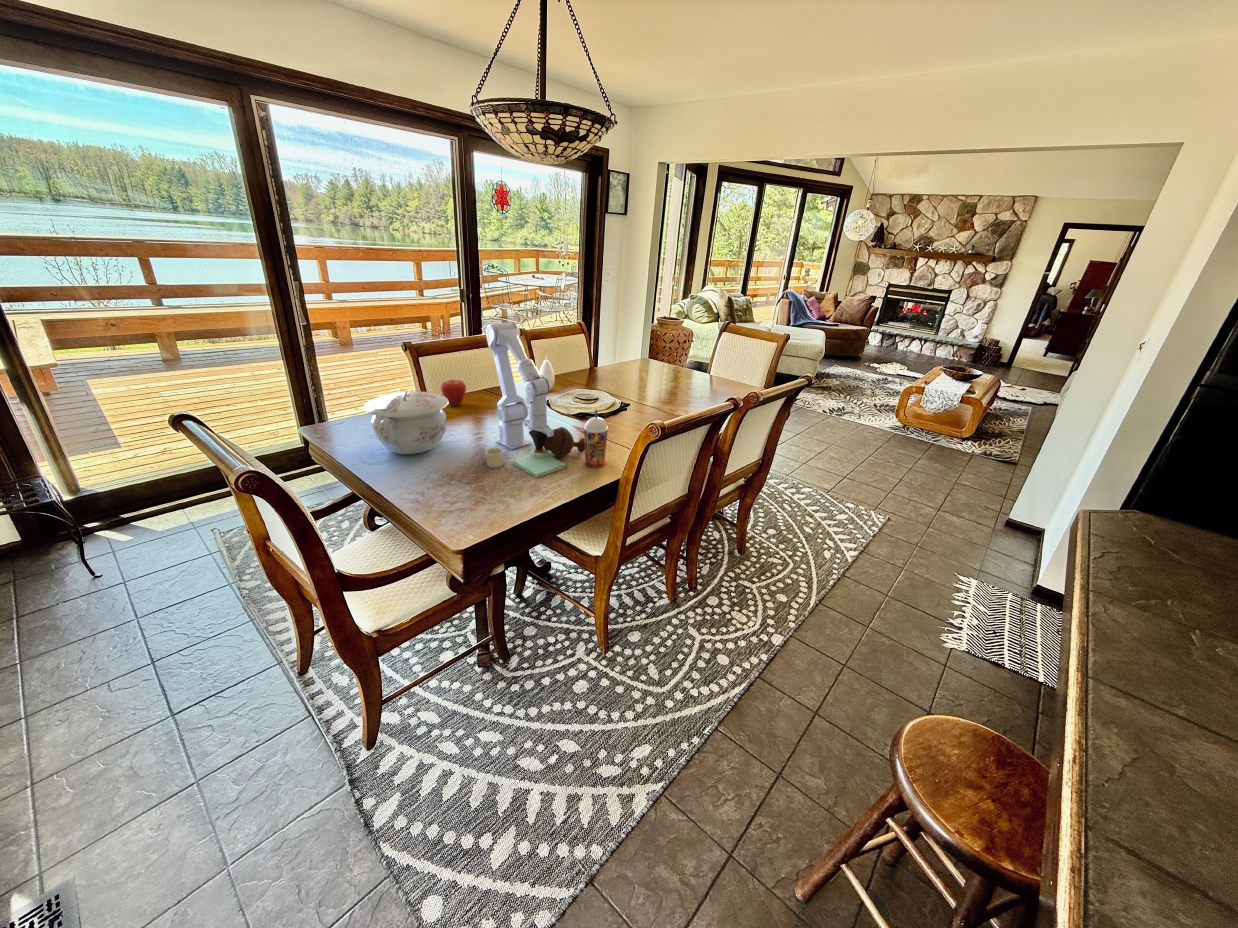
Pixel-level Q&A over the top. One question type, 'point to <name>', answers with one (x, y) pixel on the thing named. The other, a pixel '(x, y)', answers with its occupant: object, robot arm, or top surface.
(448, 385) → the apple
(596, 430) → the smoothie
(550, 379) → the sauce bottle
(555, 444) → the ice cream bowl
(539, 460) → the scale
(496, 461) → the beige cup
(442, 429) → the chamber pot
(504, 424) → the robot arm
